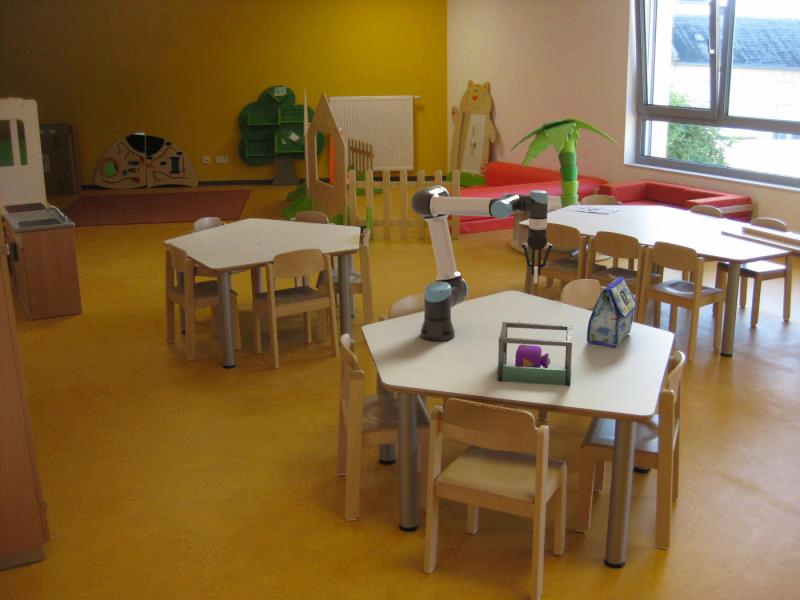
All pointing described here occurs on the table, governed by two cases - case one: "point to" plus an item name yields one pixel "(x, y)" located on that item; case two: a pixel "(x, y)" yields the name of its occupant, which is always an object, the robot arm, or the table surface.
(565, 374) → the frame
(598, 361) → the table surface
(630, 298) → the lunch bag
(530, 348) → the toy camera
